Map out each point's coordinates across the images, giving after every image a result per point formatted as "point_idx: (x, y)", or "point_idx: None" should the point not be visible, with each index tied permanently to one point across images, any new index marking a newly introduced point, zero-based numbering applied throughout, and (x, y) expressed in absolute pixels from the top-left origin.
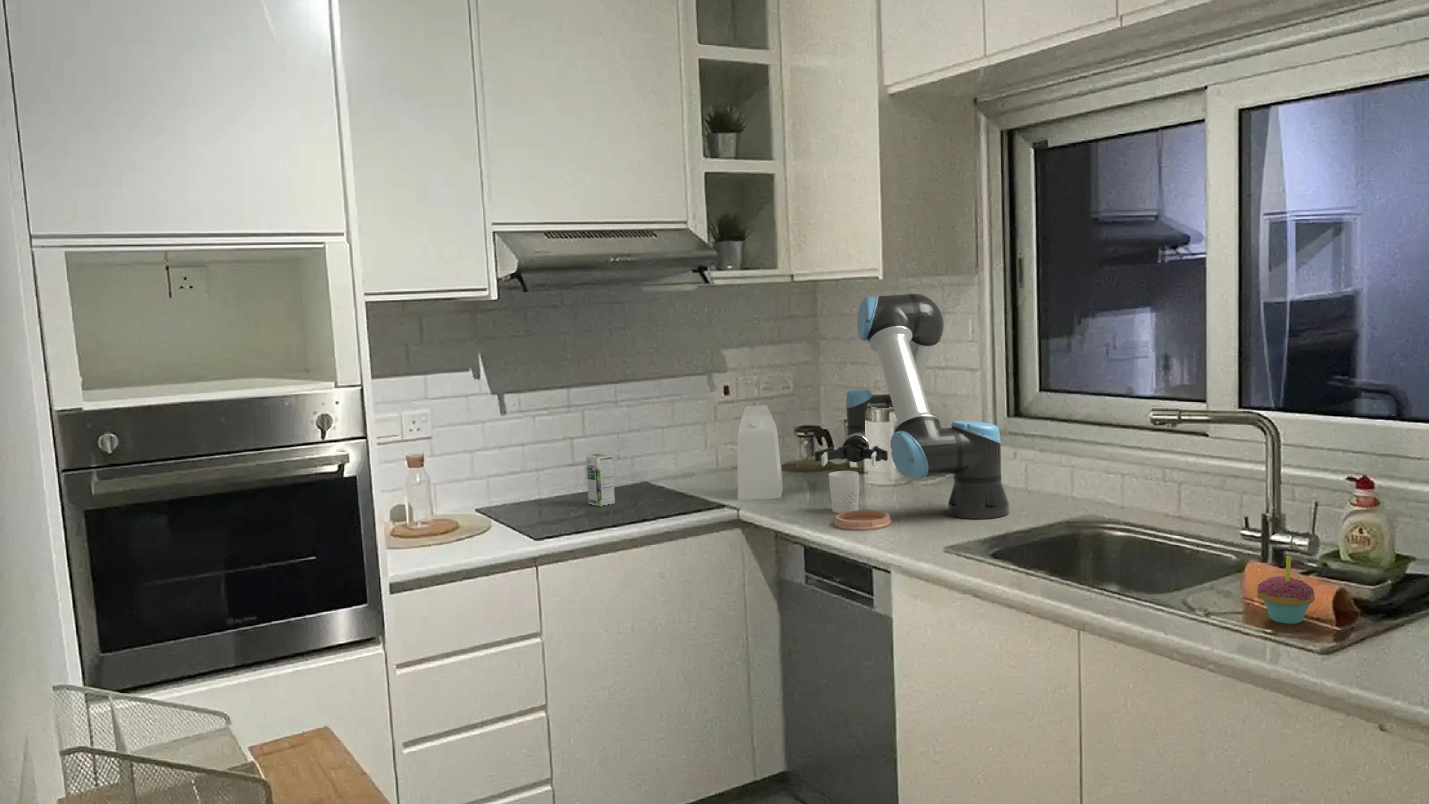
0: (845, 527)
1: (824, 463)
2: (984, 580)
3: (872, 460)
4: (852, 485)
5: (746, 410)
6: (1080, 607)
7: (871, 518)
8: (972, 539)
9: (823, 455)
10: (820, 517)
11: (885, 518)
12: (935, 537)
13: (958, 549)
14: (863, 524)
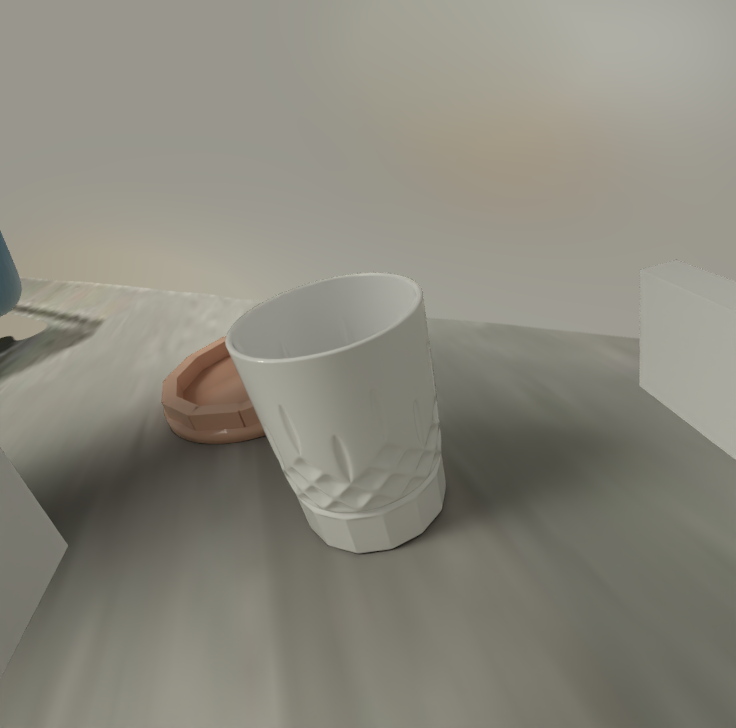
0: None
1: (656, 371)
2: (92, 283)
3: (17, 498)
4: (280, 355)
5: None
6: (33, 279)
7: (230, 397)
8: (7, 379)
9: (715, 288)
10: (443, 391)
11: (181, 363)
12: (84, 365)
13: (70, 335)
14: None
